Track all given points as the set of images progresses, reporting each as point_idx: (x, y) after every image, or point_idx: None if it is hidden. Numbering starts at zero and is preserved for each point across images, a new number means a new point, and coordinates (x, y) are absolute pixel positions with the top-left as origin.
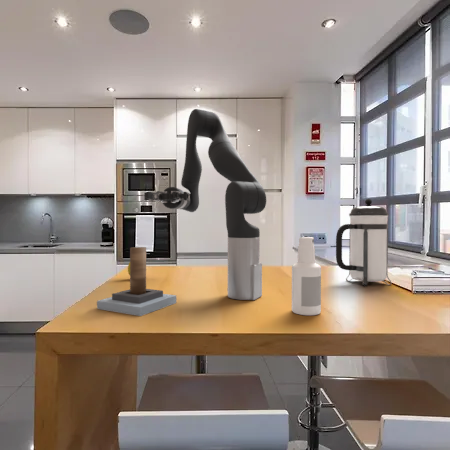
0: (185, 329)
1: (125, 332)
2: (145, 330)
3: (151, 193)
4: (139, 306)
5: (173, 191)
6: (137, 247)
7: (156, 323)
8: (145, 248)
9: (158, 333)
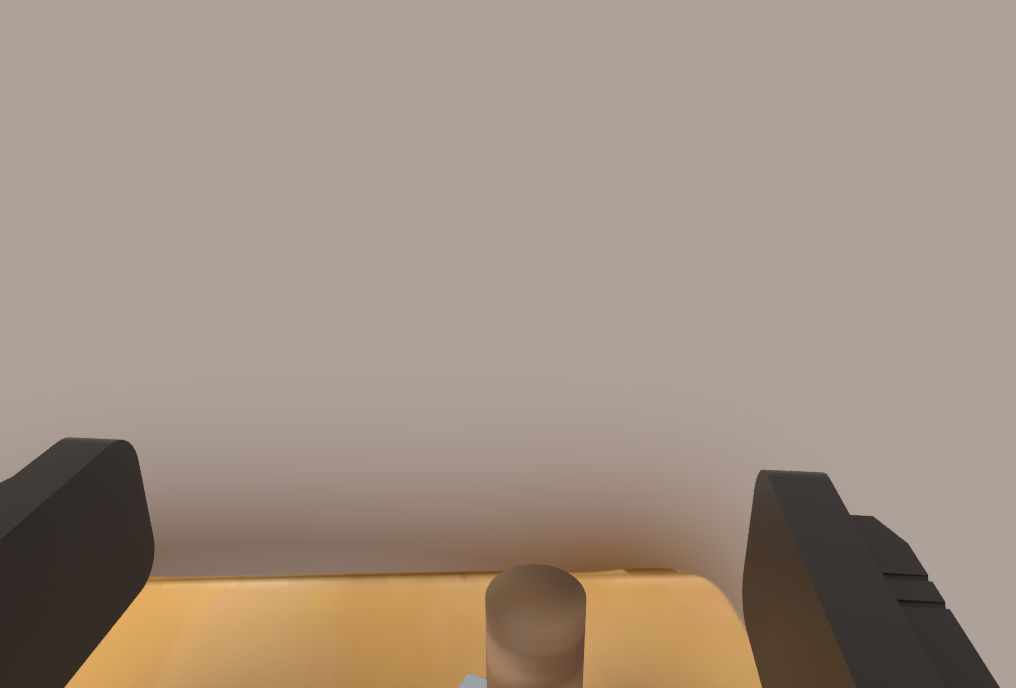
0: (304, 597)
1: (473, 576)
2: (420, 589)
3: (820, 648)
4: (477, 683)
5: (116, 440)
6: (547, 610)
7: (396, 636)
8: (486, 594)
9: (381, 573)
